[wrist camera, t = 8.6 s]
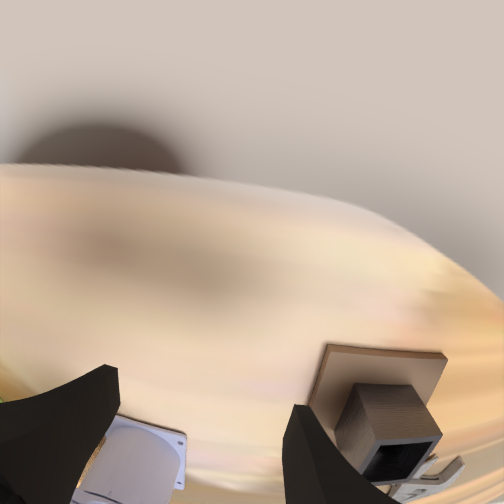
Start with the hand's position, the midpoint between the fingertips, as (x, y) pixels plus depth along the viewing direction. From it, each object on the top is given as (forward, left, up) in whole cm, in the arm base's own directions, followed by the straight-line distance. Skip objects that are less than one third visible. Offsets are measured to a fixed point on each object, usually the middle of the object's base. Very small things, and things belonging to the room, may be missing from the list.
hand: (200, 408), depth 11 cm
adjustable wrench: (-24, -19, -10) cm, 33 cm away
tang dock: (-6, -12, -9) cm, 16 cm away
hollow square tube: (-6, -12, -8) cm, 16 cm away
